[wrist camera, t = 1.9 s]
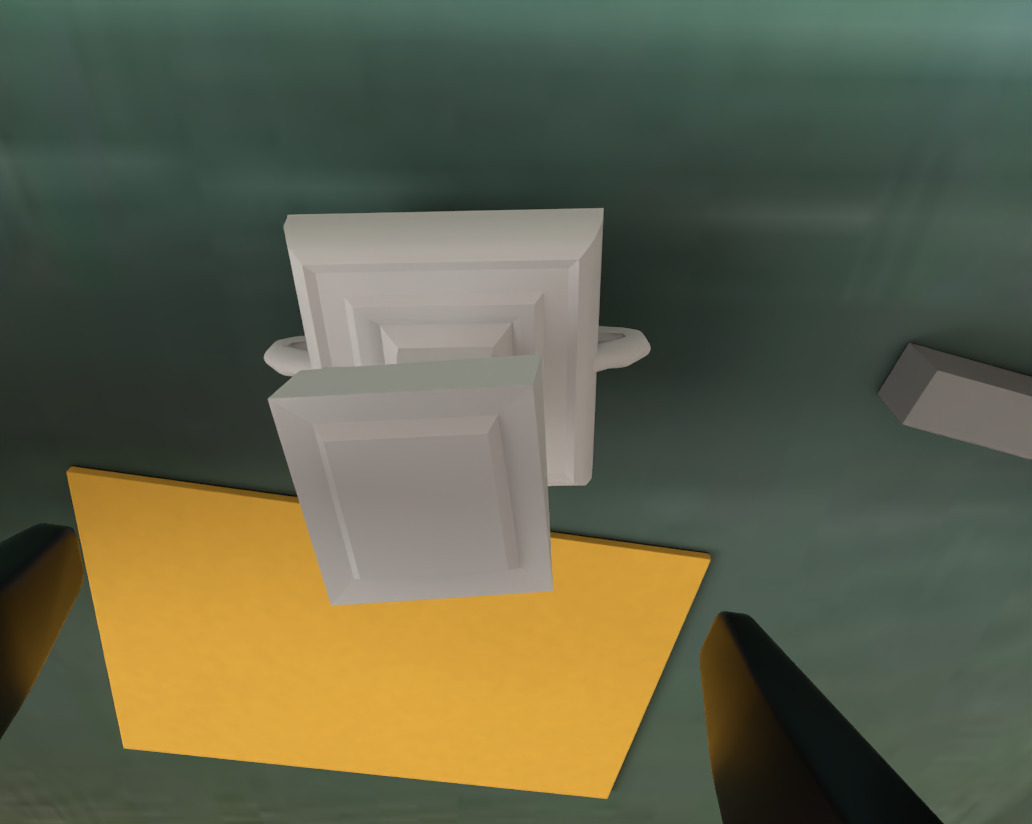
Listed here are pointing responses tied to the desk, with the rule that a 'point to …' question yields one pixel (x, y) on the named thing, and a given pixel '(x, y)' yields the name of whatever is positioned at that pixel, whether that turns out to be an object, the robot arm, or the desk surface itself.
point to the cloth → (367, 646)
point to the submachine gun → (961, 399)
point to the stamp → (441, 393)
